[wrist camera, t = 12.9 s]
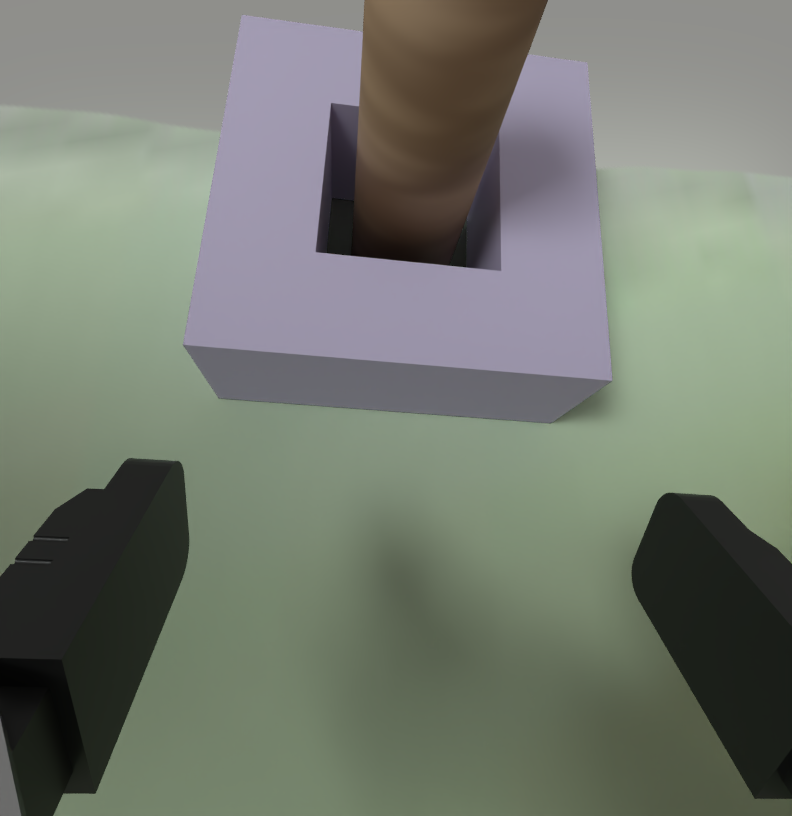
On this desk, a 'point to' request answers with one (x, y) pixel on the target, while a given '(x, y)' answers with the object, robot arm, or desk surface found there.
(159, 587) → the robot arm
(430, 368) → the socket
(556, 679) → the desk surface
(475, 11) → the dowel
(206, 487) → the desk surface
